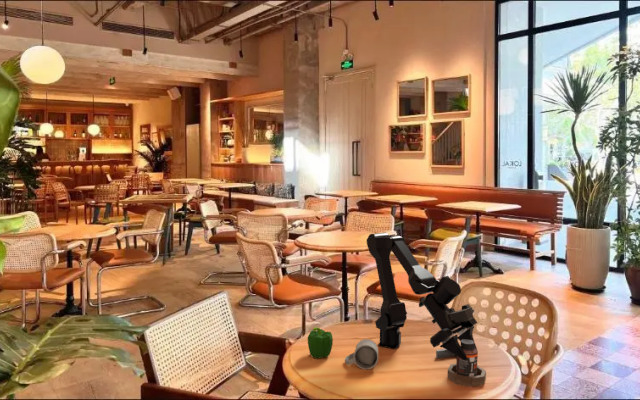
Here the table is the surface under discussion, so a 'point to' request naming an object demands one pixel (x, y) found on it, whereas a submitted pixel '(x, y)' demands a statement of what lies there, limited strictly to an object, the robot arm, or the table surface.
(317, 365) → the table surface
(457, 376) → the walnut collar
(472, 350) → the supplement bottle
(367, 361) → the ceramic mug
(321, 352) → the bell pepper
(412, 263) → the robot arm
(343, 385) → the table surface
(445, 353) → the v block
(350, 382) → the table surface
